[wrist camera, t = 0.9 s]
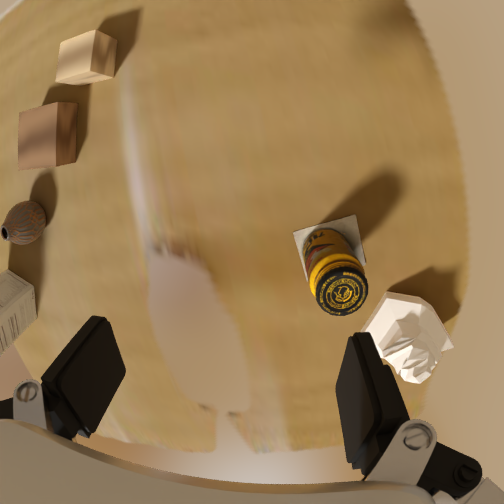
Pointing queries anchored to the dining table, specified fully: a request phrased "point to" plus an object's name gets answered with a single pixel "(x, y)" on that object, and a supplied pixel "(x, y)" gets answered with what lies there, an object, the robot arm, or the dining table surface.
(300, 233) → the condiment
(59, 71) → the oak cube
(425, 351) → the white faceted lump
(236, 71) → the dining table surface
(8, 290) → the supplement box
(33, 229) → the vase
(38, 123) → the walnut block
